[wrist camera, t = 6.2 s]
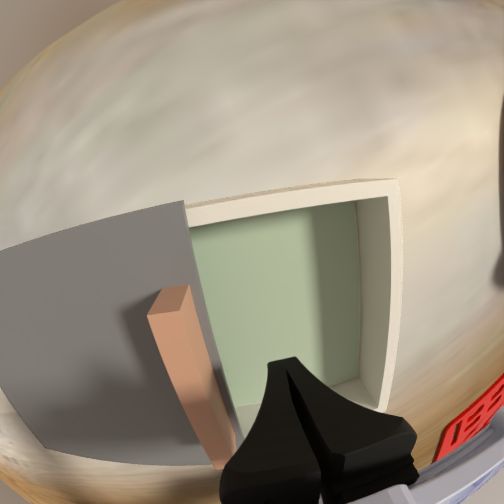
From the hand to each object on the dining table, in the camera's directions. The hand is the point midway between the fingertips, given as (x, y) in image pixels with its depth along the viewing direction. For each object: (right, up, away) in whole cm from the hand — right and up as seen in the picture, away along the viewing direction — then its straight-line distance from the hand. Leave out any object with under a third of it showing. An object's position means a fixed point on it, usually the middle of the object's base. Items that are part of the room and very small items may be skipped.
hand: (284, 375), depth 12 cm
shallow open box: (-2, +1, +6) cm, 6 cm away
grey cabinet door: (-12, -2, +1) cm, 12 cm away
